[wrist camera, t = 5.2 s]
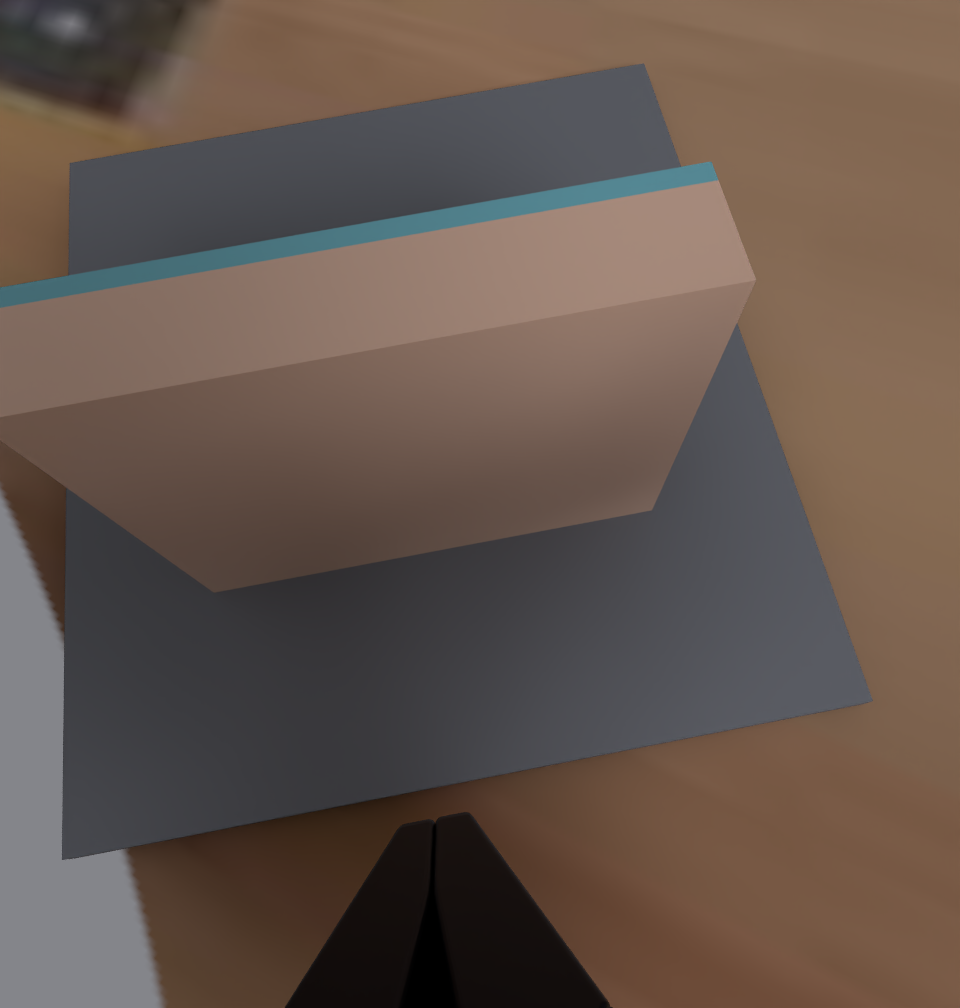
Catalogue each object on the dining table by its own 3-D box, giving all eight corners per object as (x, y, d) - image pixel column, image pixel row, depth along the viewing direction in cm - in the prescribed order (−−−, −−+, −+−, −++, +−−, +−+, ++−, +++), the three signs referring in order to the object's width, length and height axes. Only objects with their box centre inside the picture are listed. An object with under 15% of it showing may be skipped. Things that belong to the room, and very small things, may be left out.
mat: (862, 703, 20) (872, 700, 19) (75, 858, 19) (61, 859, 19) (641, 78, 28) (643, 63, 27) (78, 176, 27) (69, 162, 27)
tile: (651, 510, 21) (755, 280, 12) (214, 592, 21) (-26, 421, 12) (629, 432, 22) (711, 162, 13) (208, 510, 22) (-18, 290, 13)
